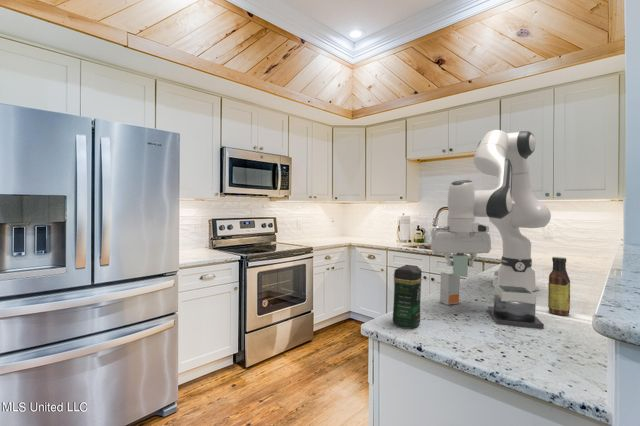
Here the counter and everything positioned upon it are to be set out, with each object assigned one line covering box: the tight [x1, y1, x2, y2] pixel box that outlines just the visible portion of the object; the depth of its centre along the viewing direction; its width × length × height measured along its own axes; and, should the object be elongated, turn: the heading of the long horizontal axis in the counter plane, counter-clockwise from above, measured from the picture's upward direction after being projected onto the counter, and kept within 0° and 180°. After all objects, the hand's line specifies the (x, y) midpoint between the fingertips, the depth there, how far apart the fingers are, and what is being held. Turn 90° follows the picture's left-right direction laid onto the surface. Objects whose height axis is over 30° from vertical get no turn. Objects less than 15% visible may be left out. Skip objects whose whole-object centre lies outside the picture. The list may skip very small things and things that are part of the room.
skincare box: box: [439, 270, 461, 306], centre depth 126 cm, size 6×4×12 cm
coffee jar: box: [392, 264, 422, 329], centre depth 103 cm, size 10×8×19 cm
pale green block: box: [452, 253, 469, 278], centre depth 114 cm, size 6×4×8 cm
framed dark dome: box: [487, 285, 545, 330], centre depth 109 cm, size 14×13×10 cm
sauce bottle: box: [547, 256, 571, 316], centre depth 115 cm, size 6×6×20 cm
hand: (460, 265), depth 114 cm, fingers closed on pale green block, 6 cm apart
